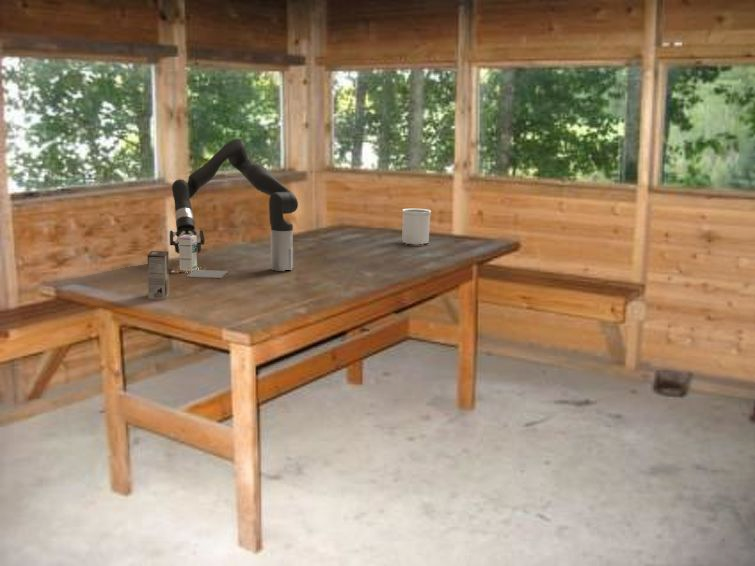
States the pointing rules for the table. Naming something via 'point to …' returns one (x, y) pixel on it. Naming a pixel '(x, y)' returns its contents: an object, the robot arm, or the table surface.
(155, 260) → the coffee box
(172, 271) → the tile
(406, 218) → the utensil holder
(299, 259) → the table surface
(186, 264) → the syrup box
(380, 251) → the table surface
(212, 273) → the mat
